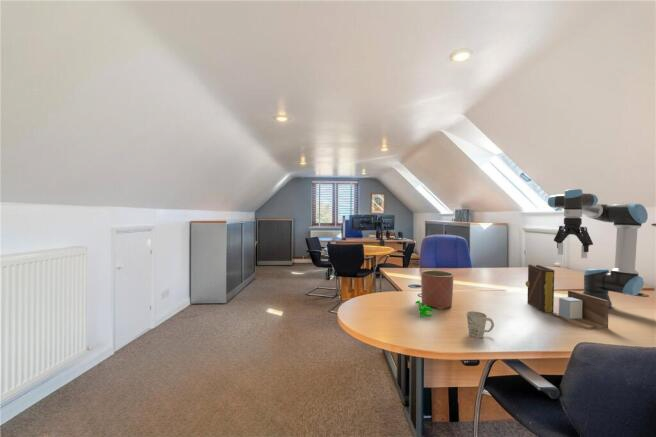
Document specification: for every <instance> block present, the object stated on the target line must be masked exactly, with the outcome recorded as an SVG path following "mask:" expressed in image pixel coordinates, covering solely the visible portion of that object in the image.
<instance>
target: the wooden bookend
mask: <svg viewBox="0 0 656 437" xmlns="http://www.w3.org/2000/svg"><path fill="white" fill-rule="evenodd" d="M567 297H573V298H576V299H579V300H583V305H582V319H567V318H564V317H562V316H559V312H553V313H551V316H553V317H555V318H558V319H561V320H562V321H565V322H568V323H571V324H573V325H575V326H578V327H580V328H583V329H586V330H594V329H595V330H597V329H598V330H599V329H608V328H609V309H610V308H609V301H608V300H604V299H601V298H597V297H593V296H590V295H586V294H583V292H579V291H576V290H572V289H571V290H567Z"/></svg>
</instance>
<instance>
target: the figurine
mask: <svg viewBox="0 0 656 437" xmlns="http://www.w3.org/2000/svg"><path fill="white" fill-rule="evenodd" d="M420 300H421V299H420ZM420 300H417V301H415V304H418V312H419V315H420V318H425V317H433V316H434V314H436V312H435V311H434V310H433V309H432V307H431V306H428V305H426V304H423V306H422V302H421V301H420ZM427 312H430V313H429V314H428V313H427ZM431 313H433V314H431Z"/></svg>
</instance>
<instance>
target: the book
mask: <svg viewBox="0 0 656 437" xmlns="http://www.w3.org/2000/svg"><path fill="white" fill-rule="evenodd" d="M527 271H528V272H527V280H526V281H525V286H526V287H527V300H526V302H527V305H528V304H529V305H530V306H531V307H532V308H535V309H536V310H538V311H539V312H541V313H544V314H552V313H554V308H555V307H554V305H555V304H554V302H555V300H554V298H555V269H552V268H549V267H546V266H543V265H541V264H540V265H539V264H536V265H533V264H528V267H527Z"/></svg>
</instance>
